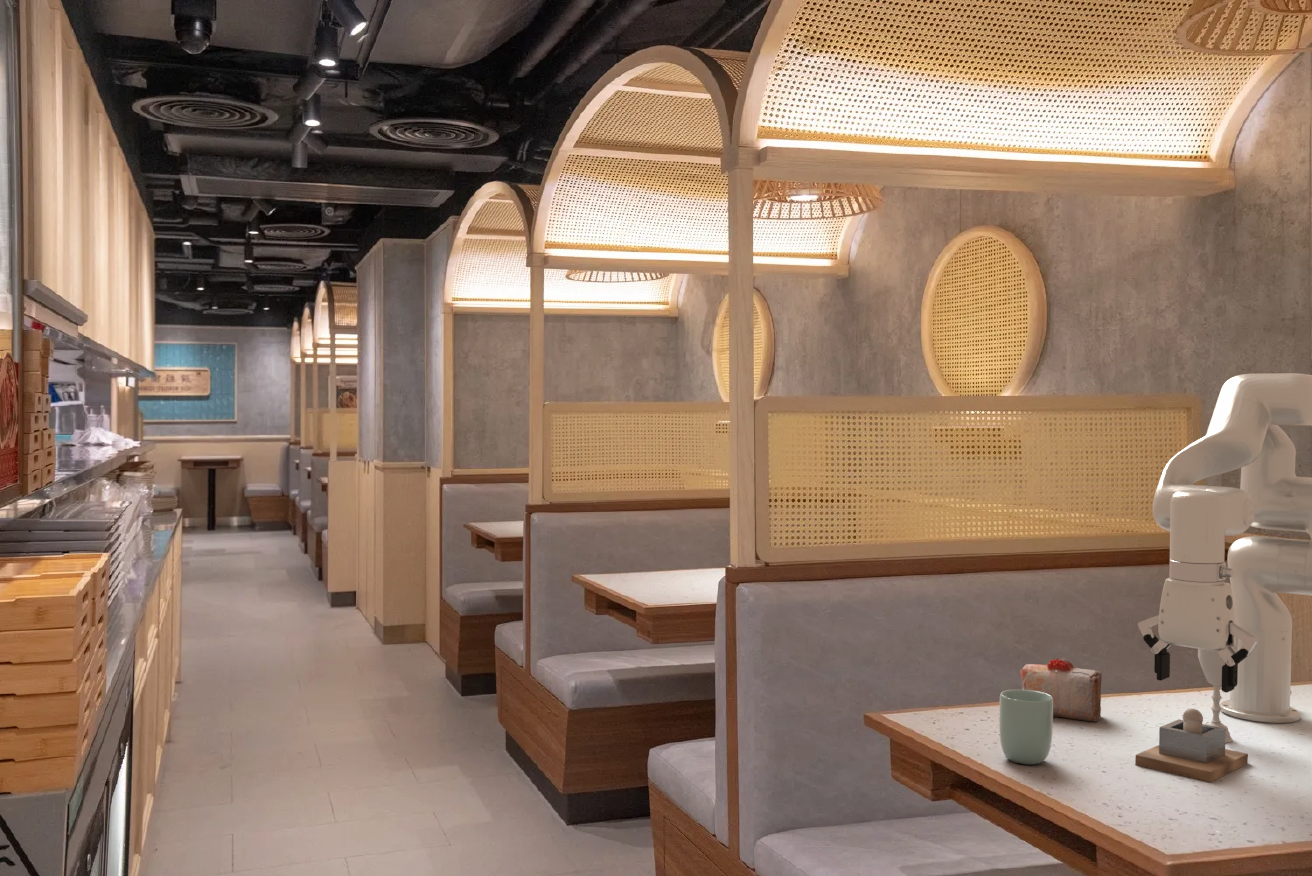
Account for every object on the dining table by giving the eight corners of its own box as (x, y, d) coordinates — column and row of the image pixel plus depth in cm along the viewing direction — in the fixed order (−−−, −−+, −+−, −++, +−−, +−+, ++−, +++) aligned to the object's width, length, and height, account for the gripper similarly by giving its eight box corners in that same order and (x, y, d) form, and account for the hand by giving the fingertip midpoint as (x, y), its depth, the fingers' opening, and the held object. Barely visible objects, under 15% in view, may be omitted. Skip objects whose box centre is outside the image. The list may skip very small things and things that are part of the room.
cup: (996, 764, 175) (997, 698, 175) (1000, 751, 182) (1002, 687, 182) (1050, 771, 172) (1052, 703, 172) (1053, 757, 179) (1054, 692, 179)
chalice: (1244, 745, 187) (1247, 634, 187) (1199, 742, 189) (1201, 631, 188) (1231, 733, 194) (1234, 626, 194) (1187, 730, 196) (1190, 624, 195)
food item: (1014, 713, 206) (1015, 658, 206) (1025, 704, 213) (1026, 650, 213) (1096, 725, 199) (1097, 667, 199) (1104, 715, 206) (1105, 659, 206)
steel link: (1178, 745, 182) (1178, 719, 181) (1225, 755, 176) (1225, 728, 176) (1158, 753, 177) (1159, 727, 177) (1206, 764, 172) (1207, 737, 172)
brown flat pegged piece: (1174, 747, 185) (1176, 695, 185) (1247, 763, 177) (1249, 708, 177) (1135, 764, 176) (1136, 709, 176) (1210, 782, 168) (1211, 724, 168)
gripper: (1266, 576, 172) (1264, 690, 173) (1150, 563, 185) (1149, 670, 186) (1247, 582, 167) (1245, 700, 168) (1129, 569, 180) (1127, 679, 181)
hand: (1194, 684), depth 177 cm, fingers open, 9 cm apart
